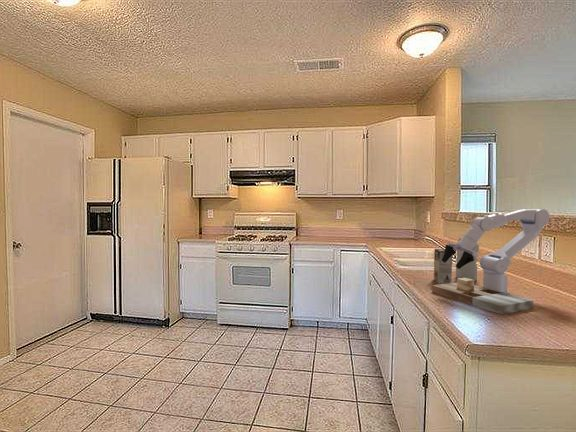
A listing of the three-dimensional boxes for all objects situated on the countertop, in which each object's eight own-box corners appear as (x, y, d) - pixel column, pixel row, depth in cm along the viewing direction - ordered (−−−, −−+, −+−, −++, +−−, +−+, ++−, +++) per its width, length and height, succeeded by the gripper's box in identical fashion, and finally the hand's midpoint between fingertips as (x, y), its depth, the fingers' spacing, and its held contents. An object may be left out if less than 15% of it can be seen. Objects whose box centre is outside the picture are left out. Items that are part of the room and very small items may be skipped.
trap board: (461, 288, 144) (461, 281, 144) (533, 308, 116) (533, 300, 116) (432, 292, 137) (432, 285, 137) (501, 314, 109) (501, 306, 109)
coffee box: (433, 279, 161) (433, 248, 160) (446, 280, 160) (447, 249, 159) (438, 283, 152) (438, 251, 151) (452, 284, 151) (453, 251, 150)
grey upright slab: (478, 279, 160) (479, 237, 160) (477, 281, 157) (478, 238, 156) (455, 276, 167) (456, 236, 166) (453, 278, 164) (455, 236, 163)
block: (464, 286, 135) (464, 277, 135) (473, 289, 131) (474, 279, 131) (456, 287, 133) (457, 278, 133) (466, 290, 129) (466, 280, 129)
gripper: (451, 230, 140) (432, 253, 140) (479, 239, 127) (459, 265, 126) (458, 239, 143) (440, 262, 142) (487, 249, 130) (467, 274, 129)
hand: (450, 264), depth 135 cm, fingers open, 7 cm apart
